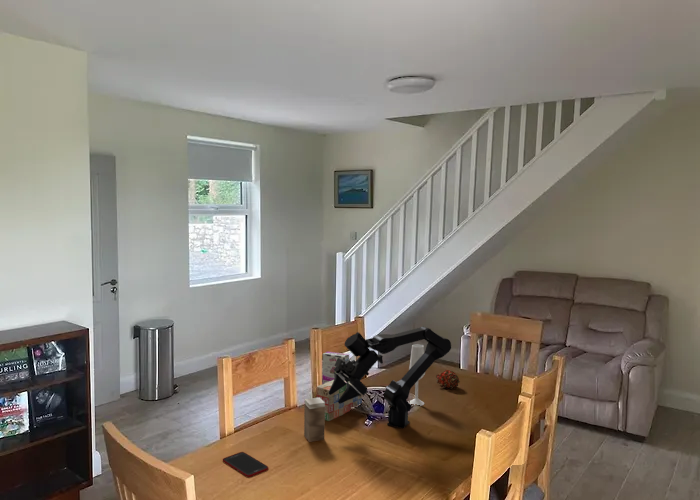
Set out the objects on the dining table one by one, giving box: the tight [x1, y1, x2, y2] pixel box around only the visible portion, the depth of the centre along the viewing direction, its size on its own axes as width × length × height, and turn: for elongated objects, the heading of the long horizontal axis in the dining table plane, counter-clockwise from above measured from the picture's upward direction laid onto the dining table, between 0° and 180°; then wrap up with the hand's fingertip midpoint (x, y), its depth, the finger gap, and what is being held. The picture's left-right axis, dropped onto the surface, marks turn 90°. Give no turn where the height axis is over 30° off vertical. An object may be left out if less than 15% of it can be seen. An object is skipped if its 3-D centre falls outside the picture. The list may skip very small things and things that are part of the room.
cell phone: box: [222, 451, 269, 478], centre depth 164 cm, size 8×15×1 cm, turn 45°
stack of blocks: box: [315, 380, 363, 422], centre depth 209 cm, size 21×6×12 cm, turn 143°
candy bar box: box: [321, 351, 350, 385], centre depth 232 cm, size 11×5×16 cm, turn 62°
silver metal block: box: [303, 397, 326, 443], centre depth 184 cm, size 6×6×13 cm
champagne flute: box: [408, 343, 426, 407], centre depth 219 cm, size 7×7×24 cm
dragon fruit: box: [435, 369, 461, 390], centre depth 240 cm, size 8×8×12 cm
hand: (333, 398), depth 187 cm, fingers open, 9 cm apart
